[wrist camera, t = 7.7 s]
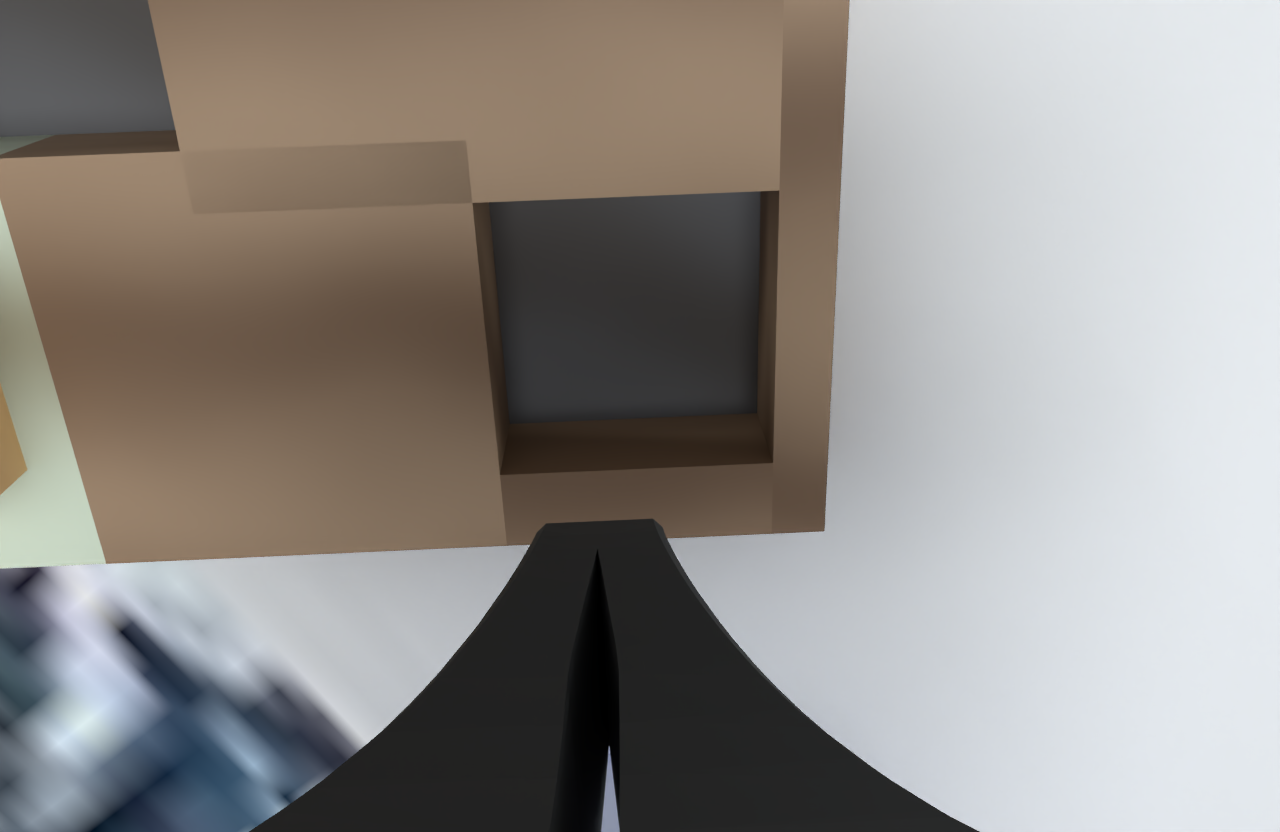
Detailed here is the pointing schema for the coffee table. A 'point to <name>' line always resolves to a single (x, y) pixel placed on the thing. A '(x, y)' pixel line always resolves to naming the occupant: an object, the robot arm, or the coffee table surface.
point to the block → (9, 449)
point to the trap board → (414, 271)
